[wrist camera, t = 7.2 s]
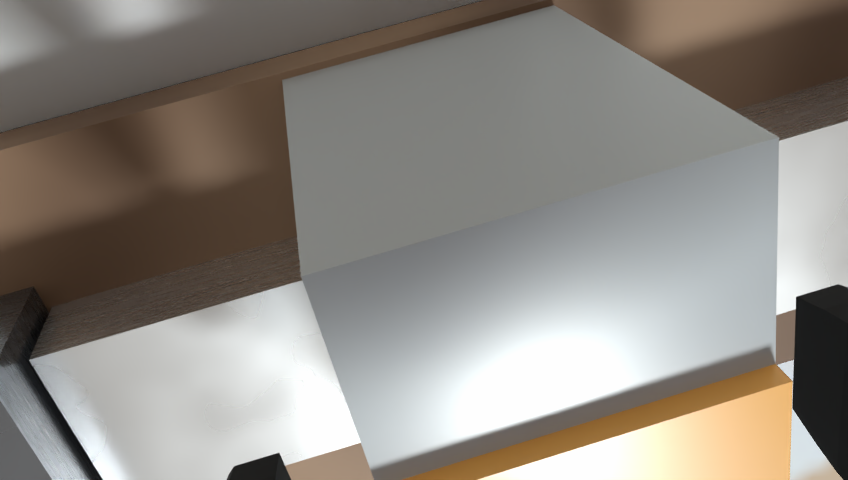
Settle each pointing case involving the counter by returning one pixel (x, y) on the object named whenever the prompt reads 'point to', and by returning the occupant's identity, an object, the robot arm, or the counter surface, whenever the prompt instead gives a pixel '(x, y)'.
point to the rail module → (541, 260)
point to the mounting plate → (269, 153)
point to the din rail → (292, 339)
